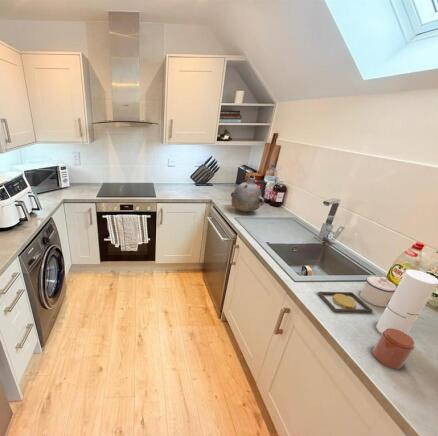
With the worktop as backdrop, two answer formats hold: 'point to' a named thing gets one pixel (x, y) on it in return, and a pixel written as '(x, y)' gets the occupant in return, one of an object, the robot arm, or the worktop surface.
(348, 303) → the jar lid
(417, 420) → the worktop surface
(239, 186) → the jug
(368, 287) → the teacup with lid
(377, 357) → the jar
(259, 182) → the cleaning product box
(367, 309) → the dark rectangular frame
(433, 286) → the cylindrical container
